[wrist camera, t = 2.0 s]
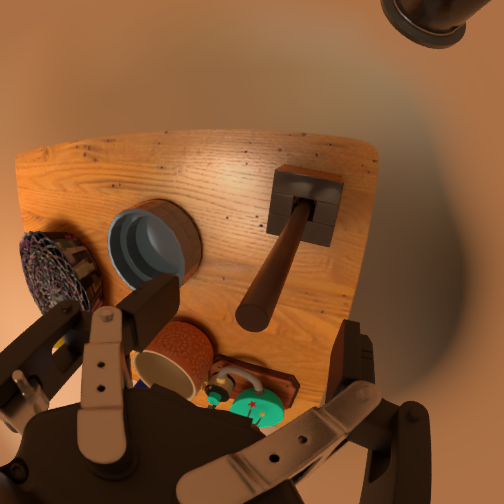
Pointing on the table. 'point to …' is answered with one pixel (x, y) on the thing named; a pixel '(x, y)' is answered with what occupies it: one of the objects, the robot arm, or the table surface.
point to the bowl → (153, 243)
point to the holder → (310, 187)
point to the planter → (176, 359)
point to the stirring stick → (273, 273)
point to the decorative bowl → (60, 270)
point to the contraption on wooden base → (250, 390)
